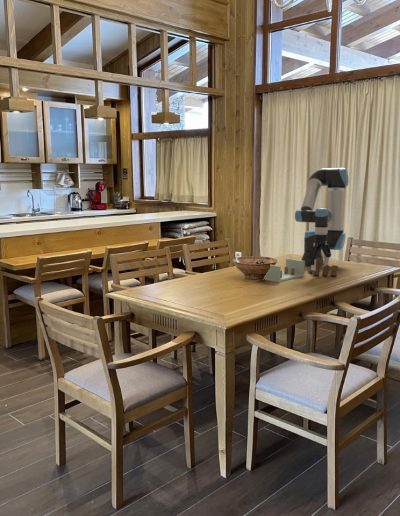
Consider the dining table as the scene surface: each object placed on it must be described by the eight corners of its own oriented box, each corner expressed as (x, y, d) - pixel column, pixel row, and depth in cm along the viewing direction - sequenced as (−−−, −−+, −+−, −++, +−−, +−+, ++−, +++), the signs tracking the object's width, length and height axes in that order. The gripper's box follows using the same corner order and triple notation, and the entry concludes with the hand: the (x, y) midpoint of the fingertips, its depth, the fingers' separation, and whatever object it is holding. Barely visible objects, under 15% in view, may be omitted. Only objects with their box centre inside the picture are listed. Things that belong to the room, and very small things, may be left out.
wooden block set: (336, 279, 298) (340, 263, 299) (332, 276, 290) (336, 260, 292) (308, 275, 307) (312, 259, 309) (303, 272, 300) (307, 256, 302)
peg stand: (287, 272, 308) (287, 258, 306) (304, 275, 298) (304, 260, 297) (261, 278, 291) (261, 263, 290) (278, 282, 282) (278, 266, 280)
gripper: (327, 232, 305) (326, 265, 308) (303, 235, 288) (302, 270, 291) (337, 232, 299) (336, 267, 302) (314, 236, 282) (313, 272, 286)
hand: (319, 268), depth 297 cm, fingers open, 13 cm apart
